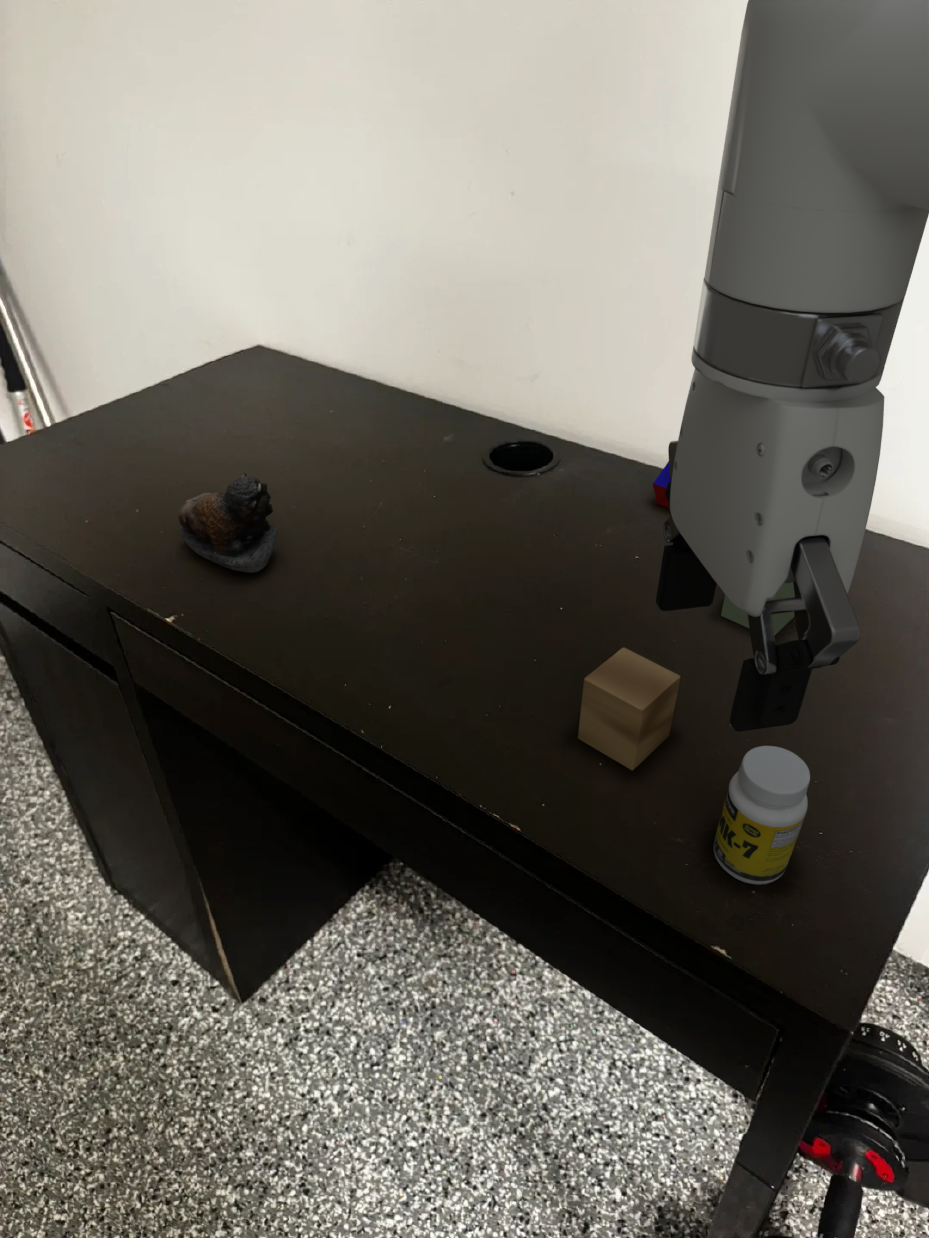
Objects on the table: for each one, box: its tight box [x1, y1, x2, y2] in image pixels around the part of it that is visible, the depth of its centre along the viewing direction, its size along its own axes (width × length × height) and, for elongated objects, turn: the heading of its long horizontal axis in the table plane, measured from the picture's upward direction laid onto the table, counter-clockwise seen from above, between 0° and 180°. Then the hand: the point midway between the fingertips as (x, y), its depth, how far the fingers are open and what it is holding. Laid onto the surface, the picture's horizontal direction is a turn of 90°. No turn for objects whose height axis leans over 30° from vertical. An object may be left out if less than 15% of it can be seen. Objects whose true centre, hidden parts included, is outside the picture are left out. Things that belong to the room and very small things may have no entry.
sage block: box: [720, 582, 795, 636], centre depth 78 cm, size 5×5×6 cm
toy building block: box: [652, 461, 672, 509], centre depth 94 cm, size 4×4×8 cm
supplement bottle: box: [713, 745, 811, 885], centre depth 56 cm, size 5×5×8 cm
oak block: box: [577, 646, 681, 771], centre depth 66 cm, size 5×5×6 cm
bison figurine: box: [177, 472, 278, 574], centre depth 85 cm, size 12×7×10 cm, turn 50°
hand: (719, 660), depth 46 cm, fingers open, 9 cm apart
